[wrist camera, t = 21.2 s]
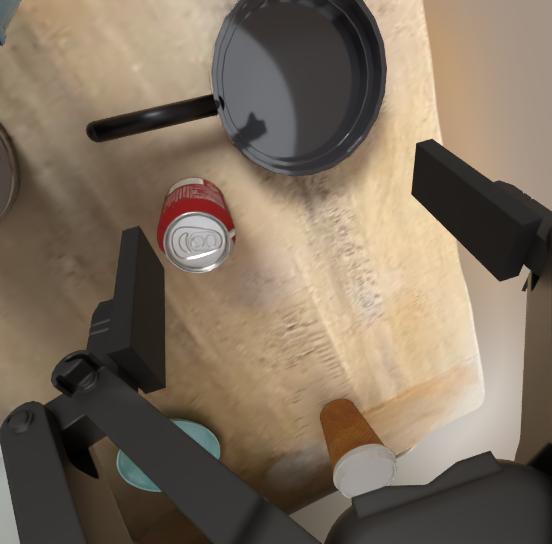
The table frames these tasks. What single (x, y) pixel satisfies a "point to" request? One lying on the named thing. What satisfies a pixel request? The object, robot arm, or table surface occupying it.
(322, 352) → the table surface
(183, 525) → the table surface
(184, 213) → the soda can
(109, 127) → the pan handle
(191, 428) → the saucer
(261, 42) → the pan
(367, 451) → the disposable coffee cup
